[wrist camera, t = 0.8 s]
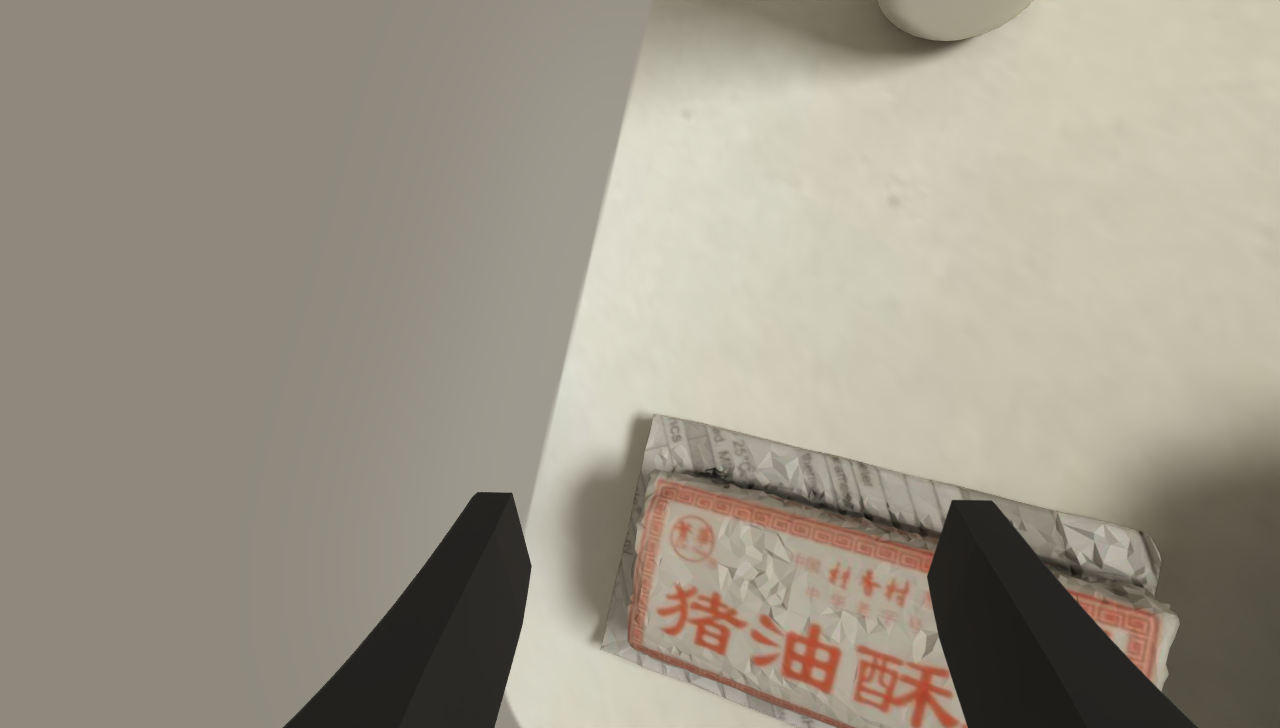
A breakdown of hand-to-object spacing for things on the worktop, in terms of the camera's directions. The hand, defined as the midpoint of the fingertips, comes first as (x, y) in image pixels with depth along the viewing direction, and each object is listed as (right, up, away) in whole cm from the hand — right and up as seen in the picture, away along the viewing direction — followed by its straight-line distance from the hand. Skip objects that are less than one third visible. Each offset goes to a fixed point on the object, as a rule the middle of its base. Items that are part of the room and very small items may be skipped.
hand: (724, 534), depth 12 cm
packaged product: (+7, -6, +15) cm, 17 cm away
